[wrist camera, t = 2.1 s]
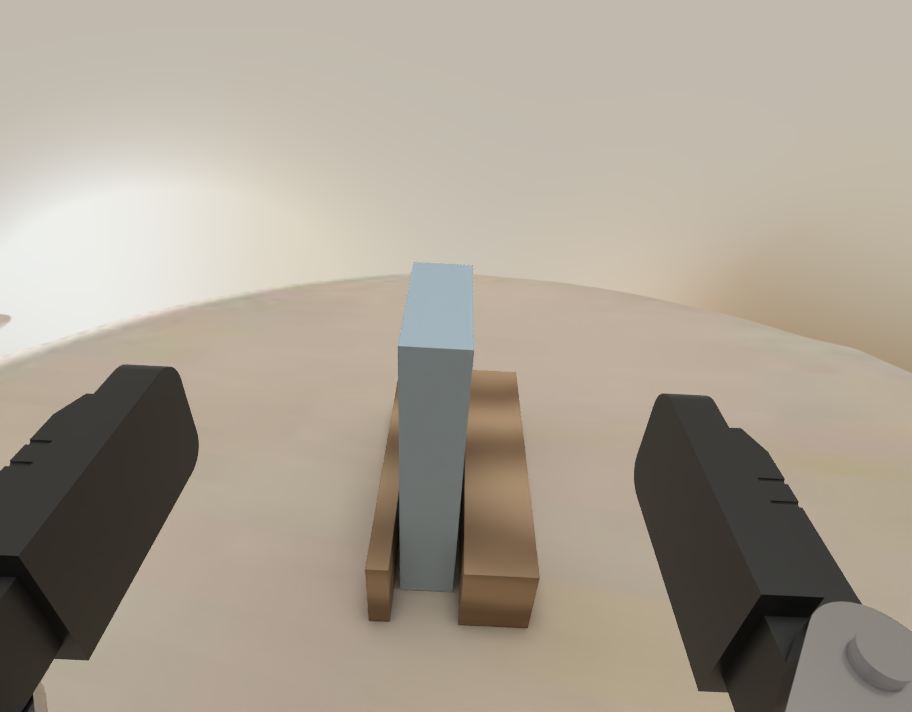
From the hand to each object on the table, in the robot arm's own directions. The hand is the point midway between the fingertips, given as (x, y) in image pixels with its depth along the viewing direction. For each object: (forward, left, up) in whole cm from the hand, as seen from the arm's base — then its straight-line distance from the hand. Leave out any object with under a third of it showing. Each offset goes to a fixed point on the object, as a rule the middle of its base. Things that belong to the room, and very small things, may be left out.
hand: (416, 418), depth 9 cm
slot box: (-12, +14, -25) cm, 31 cm away
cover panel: (-11, +11, -25) cm, 29 cm away
